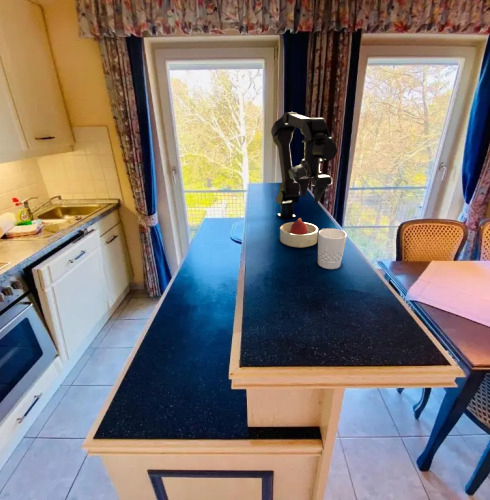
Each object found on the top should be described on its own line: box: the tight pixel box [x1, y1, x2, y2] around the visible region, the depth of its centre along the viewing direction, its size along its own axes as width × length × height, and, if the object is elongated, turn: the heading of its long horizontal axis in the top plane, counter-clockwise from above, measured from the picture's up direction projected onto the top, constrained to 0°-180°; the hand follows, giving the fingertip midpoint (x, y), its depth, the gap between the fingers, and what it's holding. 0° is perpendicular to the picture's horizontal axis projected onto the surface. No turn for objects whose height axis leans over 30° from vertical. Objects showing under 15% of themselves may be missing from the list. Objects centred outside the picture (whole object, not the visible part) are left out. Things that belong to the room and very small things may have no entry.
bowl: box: [279, 221, 319, 248], centre depth 100 cm, size 13×13×5 cm
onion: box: [290, 217, 307, 235], centre depth 99 cm, size 6×6×8 cm
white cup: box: [317, 228, 348, 270], centre depth 82 cm, size 8×8×10 cm
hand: (309, 199), depth 106 cm, fingers open, 9 cm apart
